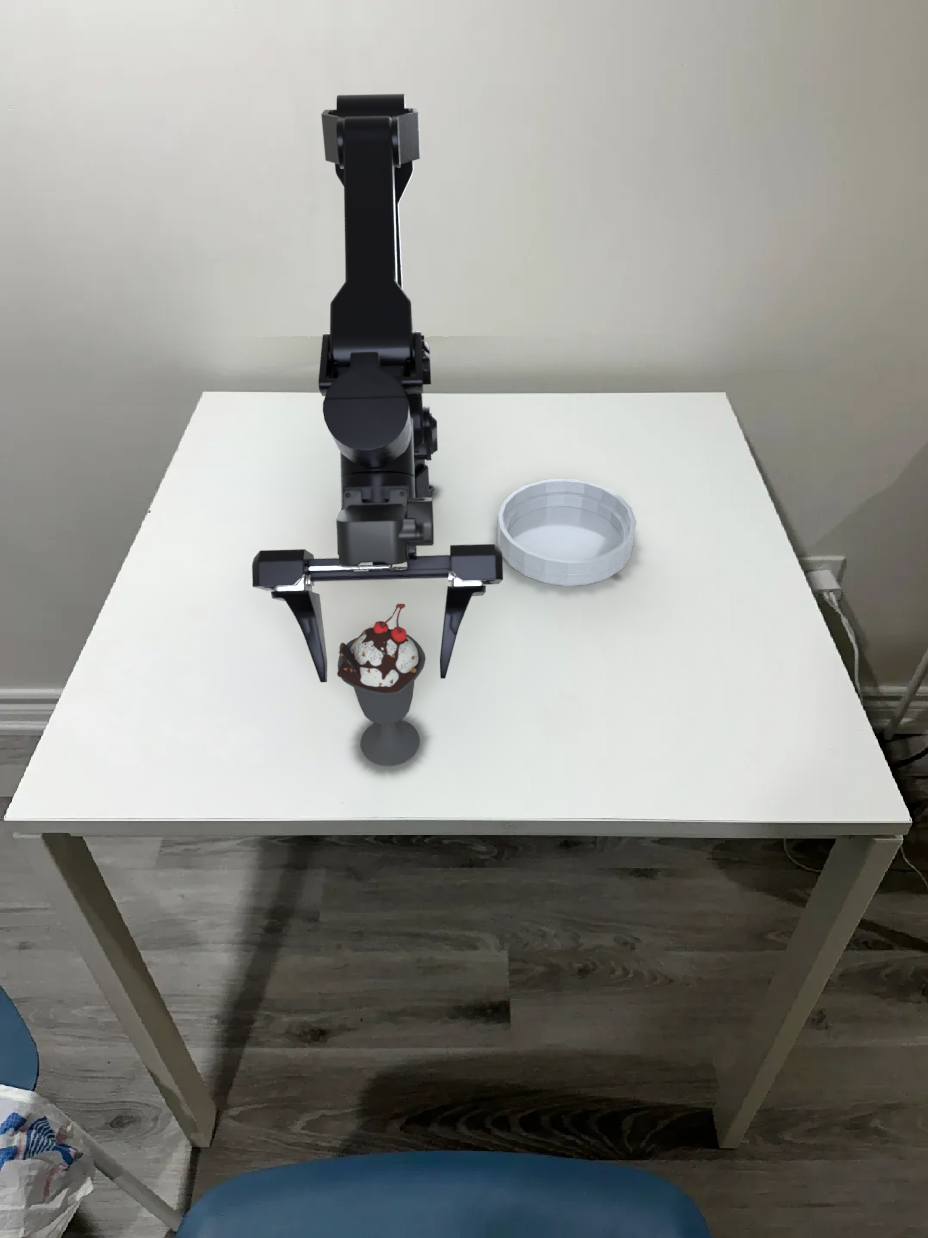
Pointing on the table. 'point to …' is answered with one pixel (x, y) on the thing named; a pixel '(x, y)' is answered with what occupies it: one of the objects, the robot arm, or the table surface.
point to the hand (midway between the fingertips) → (383, 680)
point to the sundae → (384, 688)
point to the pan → (566, 531)
